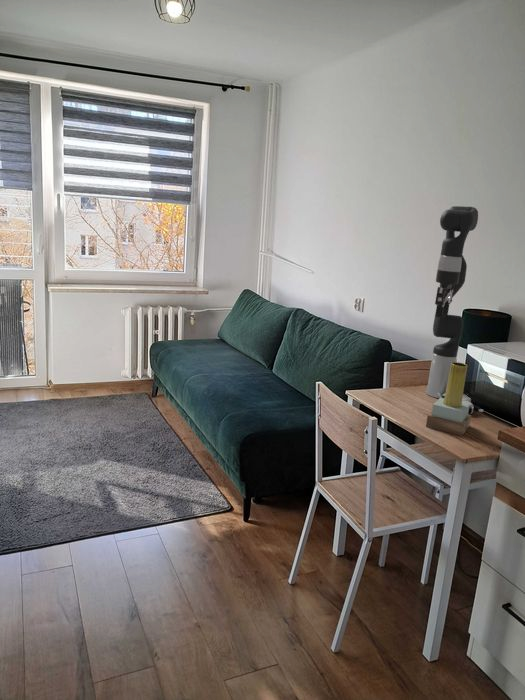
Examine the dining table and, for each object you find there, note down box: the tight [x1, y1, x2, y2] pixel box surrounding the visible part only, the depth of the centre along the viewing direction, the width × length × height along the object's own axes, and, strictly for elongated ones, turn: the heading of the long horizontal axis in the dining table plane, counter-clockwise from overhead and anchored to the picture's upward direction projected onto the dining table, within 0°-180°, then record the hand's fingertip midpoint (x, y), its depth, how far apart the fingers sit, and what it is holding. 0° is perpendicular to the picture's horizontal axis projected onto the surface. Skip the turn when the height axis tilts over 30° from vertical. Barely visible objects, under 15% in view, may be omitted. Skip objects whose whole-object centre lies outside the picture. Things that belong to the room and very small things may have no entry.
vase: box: [443, 361, 468, 407], centre depth 187 cm, size 6×6×14 cm
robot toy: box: [438, 393, 484, 414], centre depth 211 cm, size 12×4×15 cm
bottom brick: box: [425, 411, 472, 437], centre depth 191 cm, size 12×12×4 cm
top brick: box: [431, 398, 470, 423], centre depth 190 cm, size 10×10×4 cm
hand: (441, 315), depth 195 cm, fingers open, 8 cm apart
